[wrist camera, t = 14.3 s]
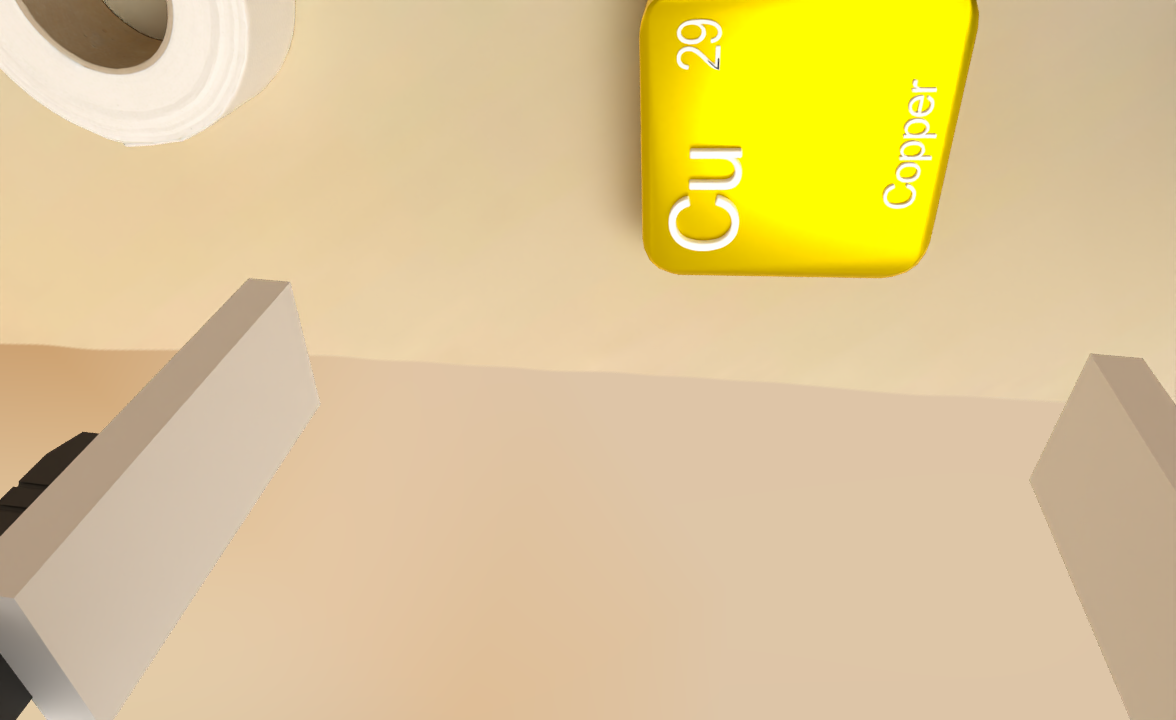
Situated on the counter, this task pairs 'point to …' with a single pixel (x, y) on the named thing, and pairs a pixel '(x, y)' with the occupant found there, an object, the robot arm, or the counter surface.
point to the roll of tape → (144, 63)
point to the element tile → (797, 132)
